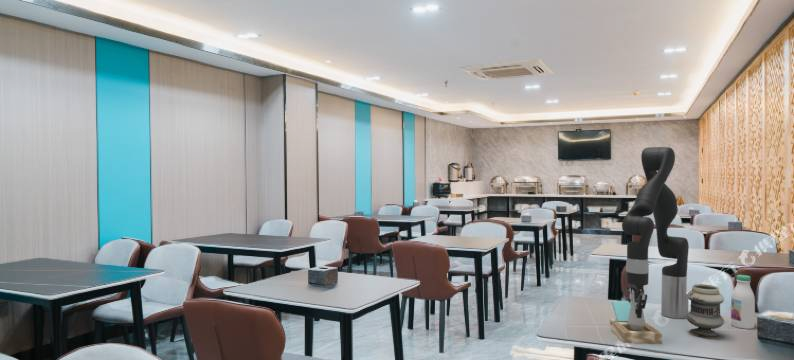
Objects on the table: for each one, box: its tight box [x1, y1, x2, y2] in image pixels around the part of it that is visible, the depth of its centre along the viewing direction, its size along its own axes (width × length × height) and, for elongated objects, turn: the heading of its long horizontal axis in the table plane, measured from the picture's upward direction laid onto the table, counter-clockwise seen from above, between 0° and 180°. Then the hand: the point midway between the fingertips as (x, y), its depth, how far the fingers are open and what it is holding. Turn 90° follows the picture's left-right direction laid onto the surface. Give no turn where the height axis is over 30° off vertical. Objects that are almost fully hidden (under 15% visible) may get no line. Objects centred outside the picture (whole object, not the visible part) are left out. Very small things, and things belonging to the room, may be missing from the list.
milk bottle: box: [730, 274, 756, 330], centre depth 204 cm, size 8×8×20 cm
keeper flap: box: [611, 300, 631, 322], centre depth 202 cm, size 8×9×1 cm
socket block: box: [609, 318, 663, 345], centre depth 195 cm, size 13×22×4 cm, turn 175°
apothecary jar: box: [686, 283, 725, 339], centre depth 194 cm, size 12×12×18 cm
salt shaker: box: [628, 294, 646, 330], centre depth 191 cm, size 6×6×13 cm
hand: (636, 317), depth 191 cm, fingers closed on salt shaker, 3 cm apart
